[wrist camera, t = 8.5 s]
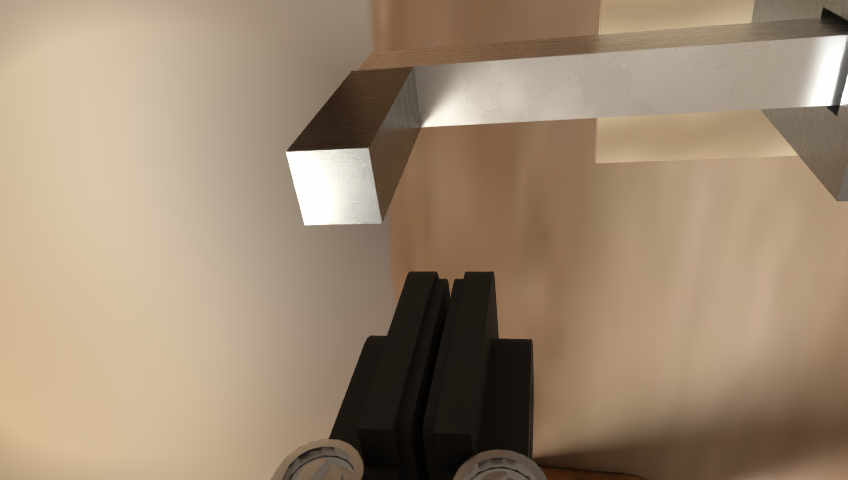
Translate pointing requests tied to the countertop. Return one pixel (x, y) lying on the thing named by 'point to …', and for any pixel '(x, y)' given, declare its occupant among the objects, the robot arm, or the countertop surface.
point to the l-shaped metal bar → (549, 95)
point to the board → (685, 132)
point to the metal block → (817, 125)
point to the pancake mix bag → (584, 475)
